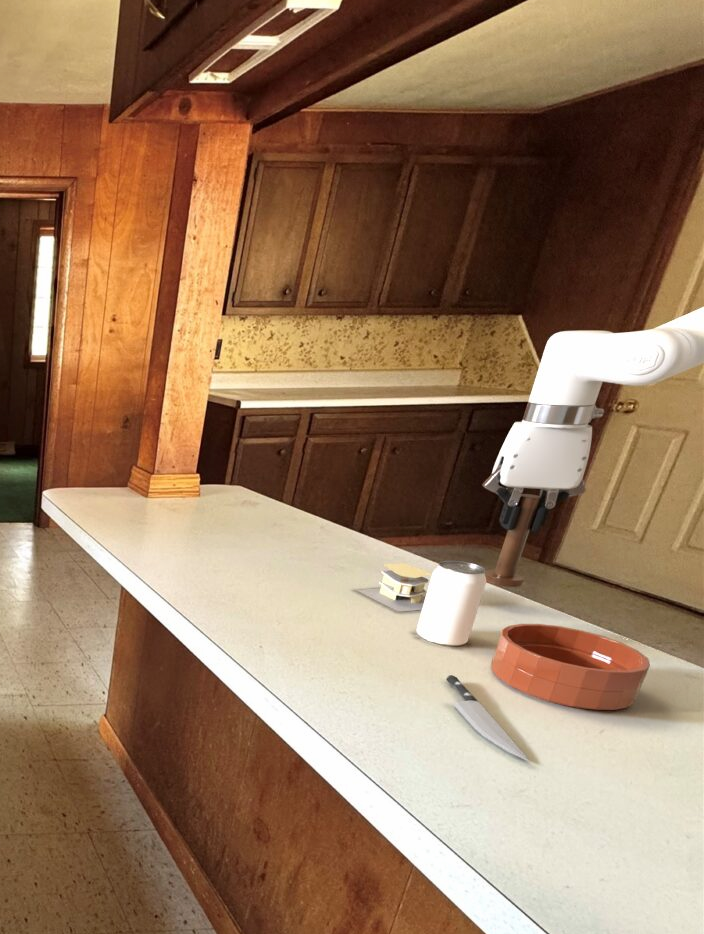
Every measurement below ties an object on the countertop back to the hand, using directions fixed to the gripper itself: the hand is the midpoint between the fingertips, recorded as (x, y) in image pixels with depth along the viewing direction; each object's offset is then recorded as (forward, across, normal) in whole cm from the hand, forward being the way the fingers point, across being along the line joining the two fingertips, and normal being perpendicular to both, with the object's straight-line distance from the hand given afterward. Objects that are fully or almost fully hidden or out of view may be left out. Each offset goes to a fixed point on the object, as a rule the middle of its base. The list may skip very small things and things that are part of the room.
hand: (519, 527), depth 109 cm
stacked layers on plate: (+14, +14, +1) cm, 20 cm away
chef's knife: (+14, +15, +42) cm, 47 cm away
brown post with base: (+10, 0, 0) cm, 10 cm away
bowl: (+14, +2, +29) cm, 32 cm away
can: (+14, +12, +17) cm, 25 cm away
